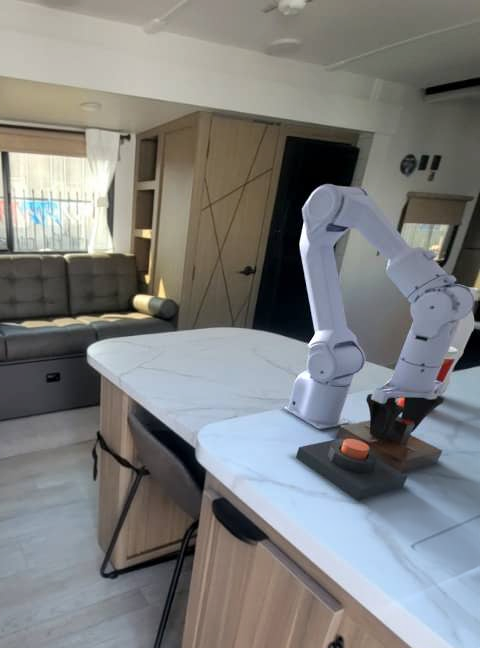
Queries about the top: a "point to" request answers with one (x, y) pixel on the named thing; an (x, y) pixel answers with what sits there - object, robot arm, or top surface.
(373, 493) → the grey button base plate
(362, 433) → the panel
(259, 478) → the top surface
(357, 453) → the orange push button
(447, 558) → the top surface
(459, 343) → the water bottle
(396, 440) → the lock knob
